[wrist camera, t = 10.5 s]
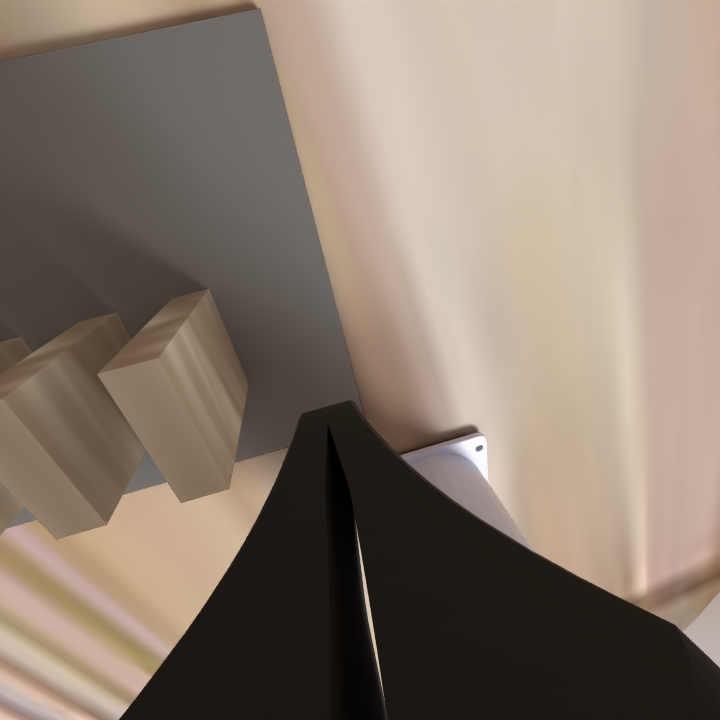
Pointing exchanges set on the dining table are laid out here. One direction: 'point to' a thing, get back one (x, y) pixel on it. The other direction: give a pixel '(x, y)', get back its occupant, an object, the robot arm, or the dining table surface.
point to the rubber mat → (169, 210)
